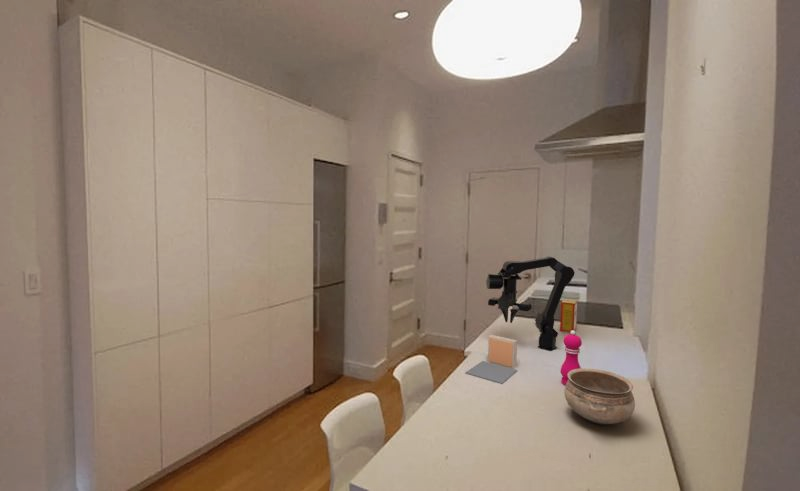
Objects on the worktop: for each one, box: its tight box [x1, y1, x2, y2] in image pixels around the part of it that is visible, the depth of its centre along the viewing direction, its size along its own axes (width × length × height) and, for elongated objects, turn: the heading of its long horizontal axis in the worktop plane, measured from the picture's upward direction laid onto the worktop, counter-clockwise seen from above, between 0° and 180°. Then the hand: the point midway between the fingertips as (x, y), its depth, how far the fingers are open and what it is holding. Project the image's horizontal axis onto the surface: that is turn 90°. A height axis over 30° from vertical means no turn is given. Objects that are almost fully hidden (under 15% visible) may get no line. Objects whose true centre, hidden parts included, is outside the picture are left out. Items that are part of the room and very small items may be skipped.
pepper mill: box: [559, 330, 583, 387], centre depth 140 cm, size 7×7×20 cm
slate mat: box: [465, 360, 518, 385], centre depth 151 cm, size 15×15×1 cm
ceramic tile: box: [487, 334, 518, 369], centre depth 158 cm, size 3×11×11 cm, turn 52°
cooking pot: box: [563, 367, 636, 426], centre depth 116 cm, size 25×19×12 cm
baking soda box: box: [559, 298, 579, 333], centre depth 206 cm, size 10×6×16 cm
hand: (508, 322), depth 177 cm, fingers closed
